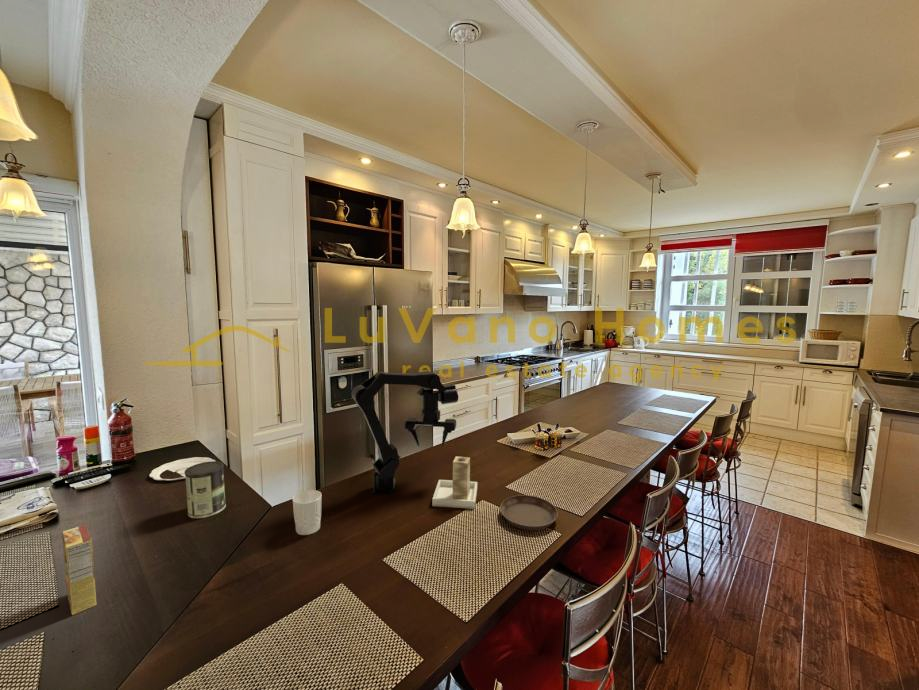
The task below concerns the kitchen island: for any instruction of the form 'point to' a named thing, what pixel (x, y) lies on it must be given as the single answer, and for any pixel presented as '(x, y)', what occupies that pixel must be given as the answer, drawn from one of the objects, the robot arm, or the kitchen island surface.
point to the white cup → (307, 511)
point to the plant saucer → (528, 512)
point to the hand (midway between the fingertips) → (430, 446)
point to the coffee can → (205, 489)
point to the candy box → (79, 569)
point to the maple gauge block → (461, 478)
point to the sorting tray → (445, 496)
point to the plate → (178, 467)
